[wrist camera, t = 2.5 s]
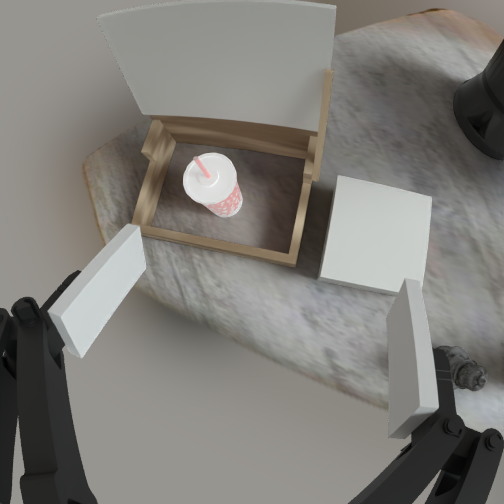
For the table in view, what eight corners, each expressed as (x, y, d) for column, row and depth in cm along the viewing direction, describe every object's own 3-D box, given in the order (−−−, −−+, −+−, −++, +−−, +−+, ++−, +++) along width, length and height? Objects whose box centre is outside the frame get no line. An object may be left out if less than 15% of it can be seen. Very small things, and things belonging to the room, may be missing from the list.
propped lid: (165, 108, 43) (99, 13, 23) (327, 125, 40) (340, 4, 19) (147, 158, 42) (61, 73, 22) (318, 182, 39) (331, 73, 18)
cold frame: (172, 136, 47) (149, 105, 38) (317, 154, 43) (320, 121, 35) (142, 235, 45) (110, 221, 36) (295, 267, 41) (295, 258, 33)
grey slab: (333, 191, 42) (338, 175, 36) (416, 210, 40) (431, 197, 34) (316, 280, 41) (320, 276, 35) (404, 297, 39) (420, 296, 33)
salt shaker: (416, 364, 37) (454, 383, 26) (446, 334, 37) (492, 343, 25) (436, 393, 36) (477, 418, 24) (466, 364, 36) (512, 379, 24)
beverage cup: (209, 178, 45) (174, 130, 31) (251, 182, 44) (231, 133, 30) (200, 219, 44) (159, 184, 31) (243, 225, 43) (219, 190, 30)
